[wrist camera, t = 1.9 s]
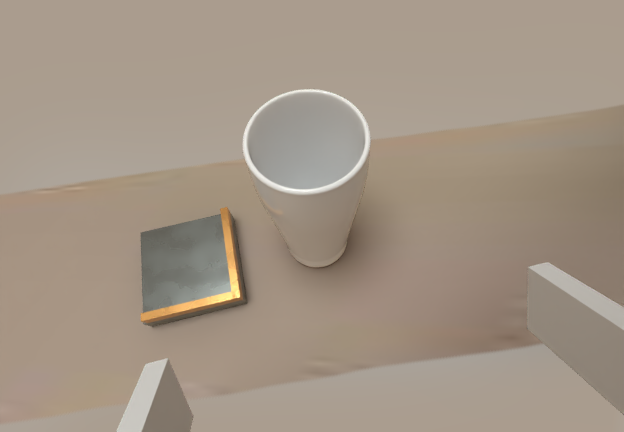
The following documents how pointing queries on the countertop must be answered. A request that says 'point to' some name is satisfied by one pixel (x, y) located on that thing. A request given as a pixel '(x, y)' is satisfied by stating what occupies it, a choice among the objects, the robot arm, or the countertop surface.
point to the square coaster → (191, 269)
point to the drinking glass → (309, 169)
